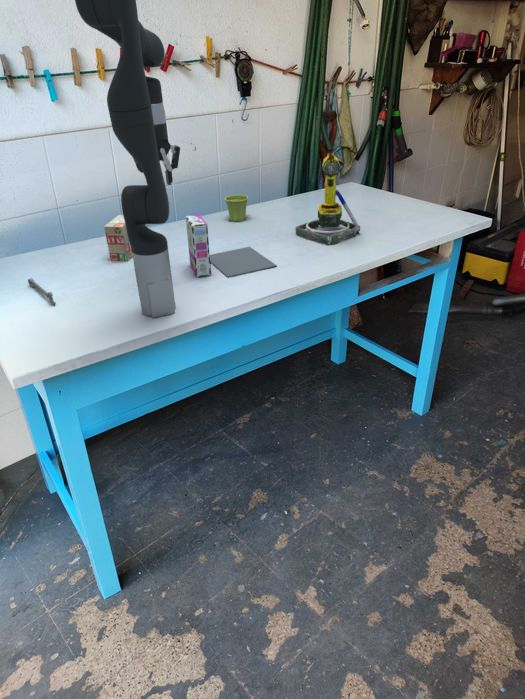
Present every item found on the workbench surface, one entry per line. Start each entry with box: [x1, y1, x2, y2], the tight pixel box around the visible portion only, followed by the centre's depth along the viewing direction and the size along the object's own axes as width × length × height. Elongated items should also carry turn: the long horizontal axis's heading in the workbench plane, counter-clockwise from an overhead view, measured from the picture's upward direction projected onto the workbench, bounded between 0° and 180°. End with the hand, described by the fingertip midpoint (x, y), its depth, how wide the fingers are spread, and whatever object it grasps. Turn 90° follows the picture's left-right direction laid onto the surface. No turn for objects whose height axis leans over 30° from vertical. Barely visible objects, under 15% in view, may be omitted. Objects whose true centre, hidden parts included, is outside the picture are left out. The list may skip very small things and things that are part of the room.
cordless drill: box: [295, 153, 361, 246], centre depth 184 cm, size 18×19×28 cm
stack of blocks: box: [103, 214, 149, 263], centre depth 181 cm, size 21×6×12 cm, turn 171°
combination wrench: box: [27, 277, 57, 306], centre depth 153 cm, size 4×1×20 cm
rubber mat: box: [210, 246, 278, 279], centre depth 171 cm, size 20×17×1 cm
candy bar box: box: [185, 214, 212, 278], centre depth 162 cm, size 11×5×16 cm, turn 17°
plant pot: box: [224, 194, 249, 222], centre depth 208 cm, size 9×9×9 cm
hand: (160, 185), depth 150 cm, fingers open, 4 cm apart
